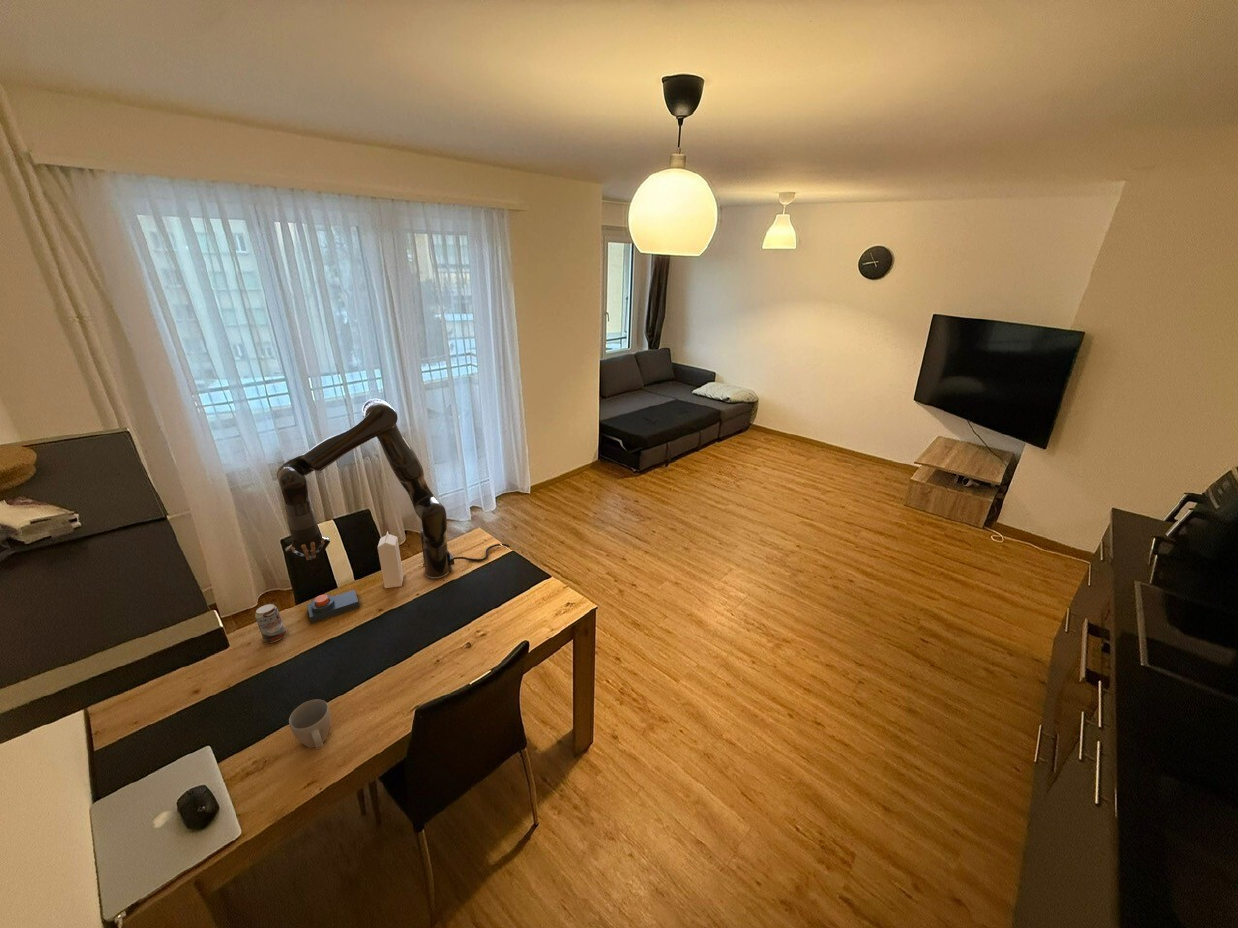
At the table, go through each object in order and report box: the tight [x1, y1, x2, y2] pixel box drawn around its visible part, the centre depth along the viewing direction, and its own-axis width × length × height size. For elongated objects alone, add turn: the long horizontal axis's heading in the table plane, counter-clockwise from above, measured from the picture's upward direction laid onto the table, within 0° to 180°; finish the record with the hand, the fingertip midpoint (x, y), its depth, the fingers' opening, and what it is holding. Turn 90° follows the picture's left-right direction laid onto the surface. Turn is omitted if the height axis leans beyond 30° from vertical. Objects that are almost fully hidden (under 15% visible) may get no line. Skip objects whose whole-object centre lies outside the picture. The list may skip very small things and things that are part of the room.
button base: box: [306, 589, 360, 624], centre depth 170 cm, size 15×8×4 cm, turn 127°
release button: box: [314, 594, 329, 607], centre depth 167 cm, size 4×4×2 cm
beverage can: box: [254, 603, 286, 644], centre depth 155 cm, size 6×7×12 cm
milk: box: [377, 530, 404, 589], centre depth 181 cm, size 6×6×22 cm
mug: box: [288, 698, 332, 751], centre depth 125 cm, size 12×9×10 cm
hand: (313, 566), depth 161 cm, fingers closed
